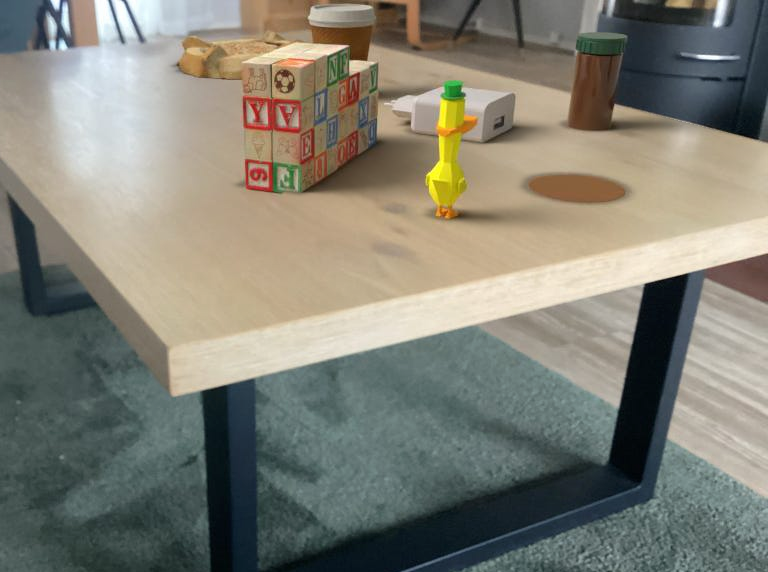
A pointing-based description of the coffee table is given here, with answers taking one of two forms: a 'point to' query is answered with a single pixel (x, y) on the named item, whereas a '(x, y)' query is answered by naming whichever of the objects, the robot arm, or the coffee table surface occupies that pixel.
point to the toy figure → (450, 149)
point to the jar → (594, 91)
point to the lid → (601, 43)
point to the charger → (483, 104)
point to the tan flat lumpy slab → (226, 54)
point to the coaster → (576, 188)
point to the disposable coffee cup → (343, 27)
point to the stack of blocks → (305, 114)
